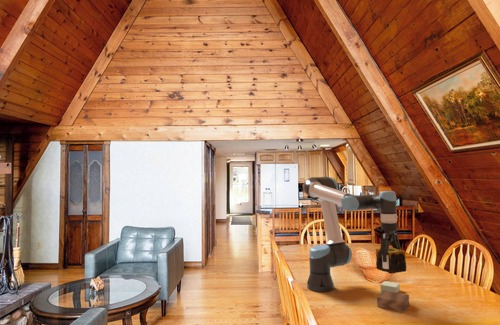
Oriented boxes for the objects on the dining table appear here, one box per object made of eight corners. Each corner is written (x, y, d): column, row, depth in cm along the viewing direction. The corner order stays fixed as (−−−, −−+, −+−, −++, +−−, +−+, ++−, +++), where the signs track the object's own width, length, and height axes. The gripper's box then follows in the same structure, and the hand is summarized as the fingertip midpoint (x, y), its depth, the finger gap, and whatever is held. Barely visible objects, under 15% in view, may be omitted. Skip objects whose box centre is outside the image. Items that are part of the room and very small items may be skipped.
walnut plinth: (377, 307, 161) (377, 297, 161) (383, 300, 171) (383, 290, 171) (404, 313, 154) (403, 302, 154) (409, 304, 164) (408, 294, 164)
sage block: (380, 292, 182) (380, 284, 182) (384, 288, 189) (384, 280, 189) (396, 294, 177) (396, 287, 178) (399, 290, 184) (399, 283, 184)
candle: (390, 274, 157) (389, 252, 157) (375, 269, 166) (374, 248, 167) (407, 271, 160) (406, 250, 161) (391, 266, 170) (390, 247, 170)
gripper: (386, 225, 153) (389, 272, 152) (405, 220, 171) (407, 262, 170) (371, 224, 158) (373, 269, 157) (390, 219, 176) (392, 259, 175)
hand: (391, 265), depth 163 cm, fingers closed on candle, 13 cm apart
